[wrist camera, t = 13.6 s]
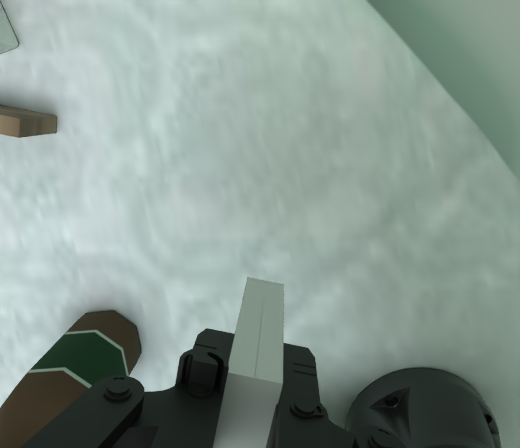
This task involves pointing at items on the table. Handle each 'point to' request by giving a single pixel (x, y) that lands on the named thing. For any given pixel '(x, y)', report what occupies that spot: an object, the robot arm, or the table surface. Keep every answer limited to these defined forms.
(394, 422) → the robot arm
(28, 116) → the box
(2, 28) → the medicine bottle
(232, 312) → the table surface
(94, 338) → the beer bottle
